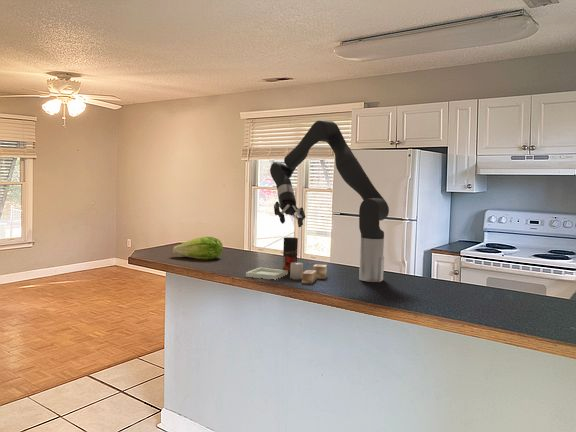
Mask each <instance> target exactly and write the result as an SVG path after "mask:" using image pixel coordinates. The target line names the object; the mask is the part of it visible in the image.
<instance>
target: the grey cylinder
mask: <svg viewBox="0 0 576 432" xmlns="http://www.w3.org/2000/svg"><path fill="white" fill-rule="evenodd" d="M303 272H304V263H303V262H298V261H297V262H292V263H291V268H290V274H289V279H291V278H292V279H291V280H302V273H303Z"/></svg>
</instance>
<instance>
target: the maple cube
mask: <svg viewBox="0 0 576 432" xmlns="http://www.w3.org/2000/svg"><path fill="white" fill-rule="evenodd" d="M312 266H313V267H312V270H316V271H317V273H316V279H320V280H321V279H323V280H326V279H327V271H328V265H327V264H319V263H318V264H316V263H315V264H314V265H312Z"/></svg>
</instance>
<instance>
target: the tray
mask: <svg viewBox="0 0 576 432" xmlns="http://www.w3.org/2000/svg"><path fill="white" fill-rule="evenodd" d="M287 274H288V270H283V269H276V268H267V267H257V268H254V269H252V270H249V271H246V273H245V277H246V278H252V277H253V278H254V279H261V278H263V280H270V279H274V280H273V281H277V280H279V279H282V278H283V276H284V277H286V276H288V275H289V274H288V275H287ZM285 275H286V276H285ZM281 277H282V278H281ZM278 278H279V279H278ZM276 279H277V280H276Z"/></svg>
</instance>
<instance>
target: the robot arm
mask: <svg viewBox="0 0 576 432" xmlns="http://www.w3.org/2000/svg"><path fill="white" fill-rule="evenodd" d="M319 142H322V143H327V144H328V145H329V146H330V149H331V150H332V152H333V153H334V158H335V161H334V162H335V167H336V170H337V171H338V173H339V174H340V176H341V178H342V179H343V181H344V182H345V183H346V184H347V185H348V186H349V187H351V189H352V190H354V191H355V192H356V193H357V194H358V195H359V196H360V197H361V199H362V202H361V203H360V205H359V210H358V213H359V214H358V222H359V223H358V225H359V226H358V227H359V228H358V229H359V232H360V247H359V248H360V250H359V251H360V252H359V271H358V273H359V274H358V280H359V281H362V282H367V283H382V281H383V280H384V269H385V265H384V264H385V257H384V248H385V246H384V245H385V242H384V241H385V232H384V230H382V229H381V227H380V221H383V220H385V219H387V218H388V216H389V213H390V207H389V205H388V202H387V201H386V200H385V199H384V197H383V195H381V193H380V192H379V191H378V190H377V189H376V187H375V185H374V184H373V183H372V181H371V180H370V178H369V177H368V175H367V174H366V172H365V170H364V169H363V167H362V165H361V164H360V162H359V160H358V158H357V157H356V156H355V155H354V153H353V151H352V149H351V148H350V146H349V145H348V144H347V141H346V140H345V138H344V136H343V134H342V131H341V129H340V128H339V126H338V125H337V123H335V122H334V121H332V120H325V119H317V120H316V121H315V122H314V123H312V125H311V127H310V128H309V129H308V130H307V132H306V133H305V135H304V136H303V137H302V139H301V140H300V141H299V142H298V144H297V145H296V146H295V147H294V148H293V149H292V150H290V152H289V153H287V155H286V156H285V157H284V160H283V161H284V163H282V162H279V161H275V162H273V163H271V165H270V169H269V173H270V176H271V178H272V180H273V182H274V183H275V185H276V192H277V193H276V194H277V199H278V201H276V202H275V203H274V204H273V210H274V215H275V216H278V217H279V221H280V223H281V224H285V222H286V218H285V215H289V216H290V217H291V216H292V217H293V218H294V219H296V221H297V227H298V228H302V226H303V225H304V222H303V221H304V220H305V218H306V214H305V209H304V207H300V208H299V207H297V199H296V196H295V195H296V194H295V191H294V189H293V185H292V181H291V179H290V178H291V177H292V175H293V173H294V172H295V171H296V169H297V167H299V165H300V164H302V163H303V162H304V160H306V158H307V157H308V154H309V152H310V150H311V148H312V147H313V146H314V145H316V144H317V143H319Z"/></svg>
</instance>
